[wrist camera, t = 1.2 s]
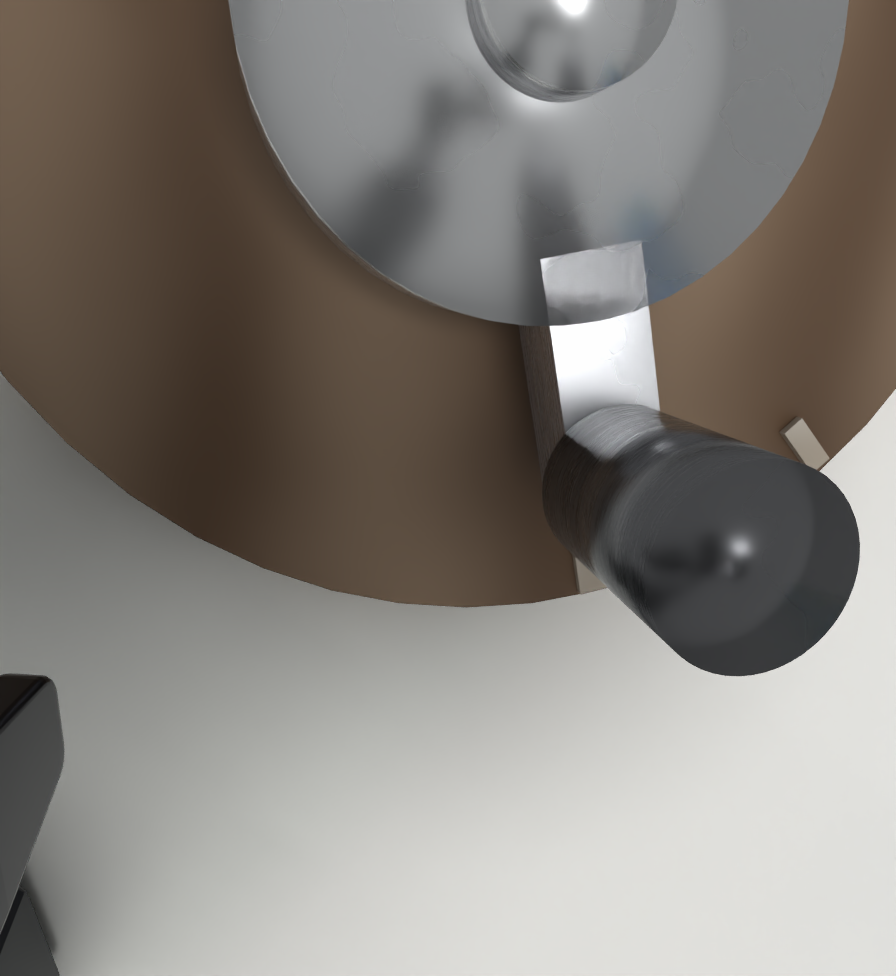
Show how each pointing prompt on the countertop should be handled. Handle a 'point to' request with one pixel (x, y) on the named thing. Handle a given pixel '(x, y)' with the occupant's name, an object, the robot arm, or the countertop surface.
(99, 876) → the countertop surface
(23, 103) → the dial base plate
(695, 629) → the dial
